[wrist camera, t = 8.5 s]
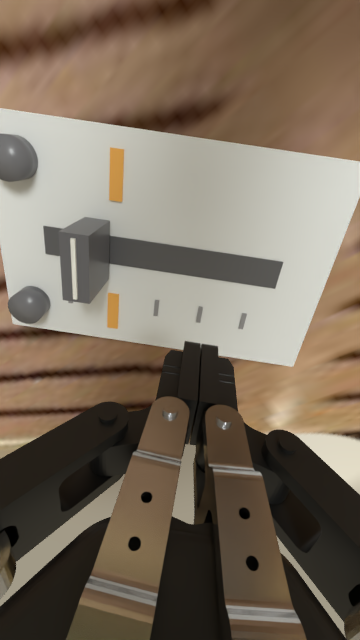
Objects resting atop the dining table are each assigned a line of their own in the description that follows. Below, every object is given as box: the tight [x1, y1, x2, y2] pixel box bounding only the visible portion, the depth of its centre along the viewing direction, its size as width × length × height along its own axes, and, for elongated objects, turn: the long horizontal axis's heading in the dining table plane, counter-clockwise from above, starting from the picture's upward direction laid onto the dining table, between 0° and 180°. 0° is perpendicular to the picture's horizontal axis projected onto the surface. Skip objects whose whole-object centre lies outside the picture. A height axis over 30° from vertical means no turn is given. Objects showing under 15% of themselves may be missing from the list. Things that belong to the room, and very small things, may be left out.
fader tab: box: [58, 217, 110, 304], centre depth 23 cm, size 5×2×5 cm, turn 173°
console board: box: [0, 108, 360, 367], centre depth 26 cm, size 18×28×4 cm, turn 83°
